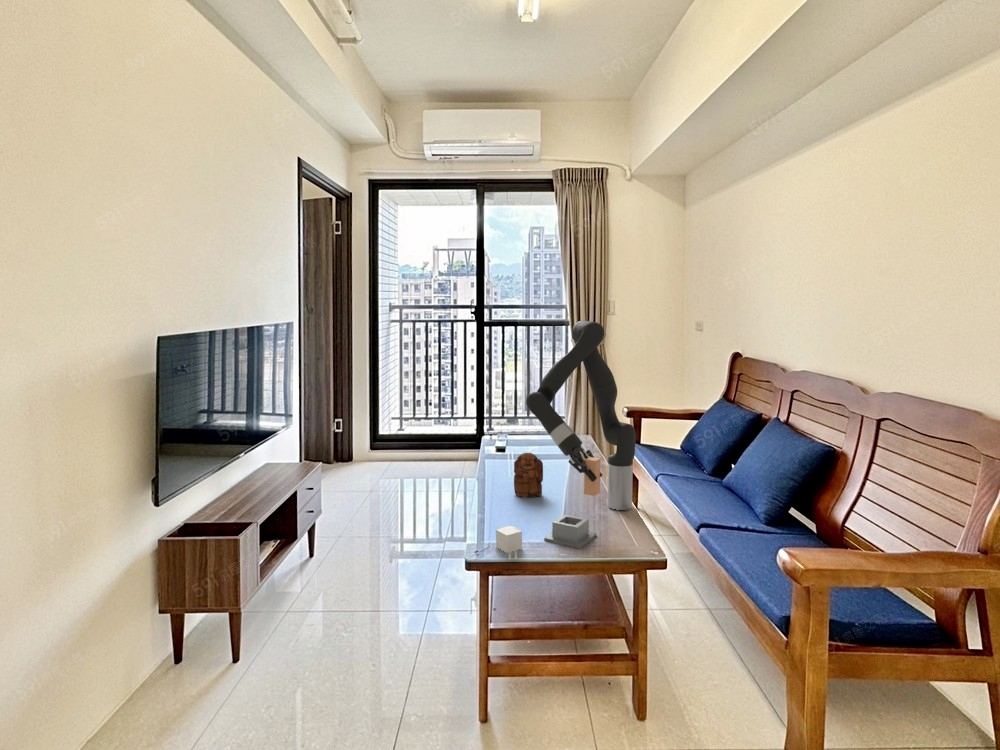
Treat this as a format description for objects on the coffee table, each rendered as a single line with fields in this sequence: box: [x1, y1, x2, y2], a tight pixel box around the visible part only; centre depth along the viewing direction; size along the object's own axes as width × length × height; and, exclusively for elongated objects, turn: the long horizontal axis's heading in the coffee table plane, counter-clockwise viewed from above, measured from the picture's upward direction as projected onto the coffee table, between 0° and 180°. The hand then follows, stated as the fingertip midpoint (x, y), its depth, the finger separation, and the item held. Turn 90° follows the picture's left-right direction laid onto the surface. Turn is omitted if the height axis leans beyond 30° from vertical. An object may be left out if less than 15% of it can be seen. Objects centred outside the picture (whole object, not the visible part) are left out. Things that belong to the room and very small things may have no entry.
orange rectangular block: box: [583, 457, 601, 497], centre depth 194 cm, size 4×4×12 cm
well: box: [543, 513, 598, 550], centre depth 191 cm, size 13×13×6 cm
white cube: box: [495, 525, 523, 554], centre depth 183 cm, size 6×6×6 cm
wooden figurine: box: [513, 452, 544, 498], centre depth 237 cm, size 12×6×18 cm, turn 96°
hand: (597, 478), depth 193 cm, fingers closed on orange rectangular block, 4 cm apart
